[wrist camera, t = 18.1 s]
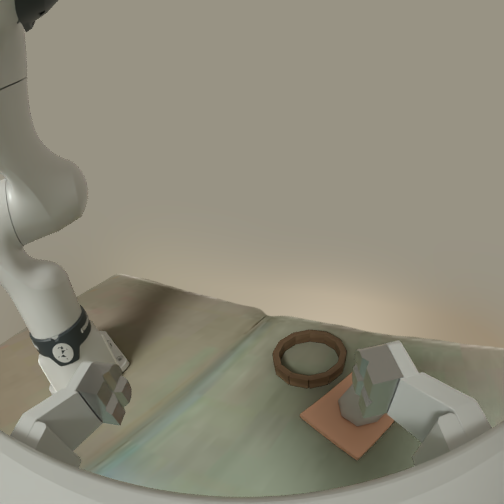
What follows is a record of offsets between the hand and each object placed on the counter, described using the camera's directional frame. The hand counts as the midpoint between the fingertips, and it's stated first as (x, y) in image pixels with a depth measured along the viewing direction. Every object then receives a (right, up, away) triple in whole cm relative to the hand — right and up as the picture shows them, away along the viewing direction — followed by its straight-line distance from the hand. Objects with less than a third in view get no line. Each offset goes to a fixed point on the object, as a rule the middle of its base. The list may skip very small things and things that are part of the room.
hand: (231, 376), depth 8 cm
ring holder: (+10, -14, +36) cm, 40 cm away
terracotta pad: (+16, -18, +24) cm, 34 cm away
